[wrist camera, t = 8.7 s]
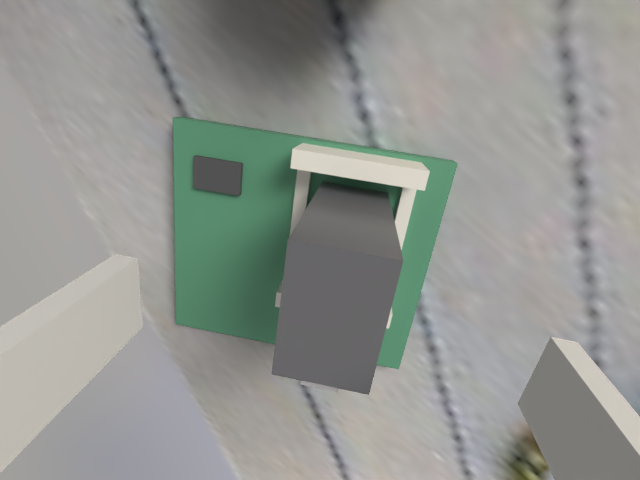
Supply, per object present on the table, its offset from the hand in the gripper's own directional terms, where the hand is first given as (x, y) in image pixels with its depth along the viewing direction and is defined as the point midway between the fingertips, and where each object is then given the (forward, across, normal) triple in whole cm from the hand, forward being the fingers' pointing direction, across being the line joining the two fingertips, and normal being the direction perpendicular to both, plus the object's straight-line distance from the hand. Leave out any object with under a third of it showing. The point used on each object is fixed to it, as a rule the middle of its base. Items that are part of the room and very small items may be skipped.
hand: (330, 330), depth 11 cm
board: (+13, -3, -3) cm, 13 cm away
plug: (+12, 0, -1) cm, 12 cm away
